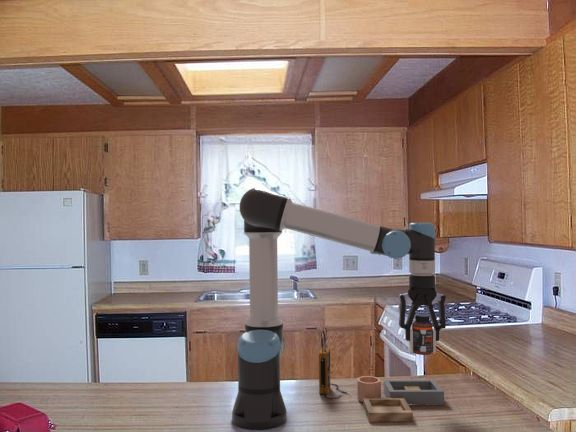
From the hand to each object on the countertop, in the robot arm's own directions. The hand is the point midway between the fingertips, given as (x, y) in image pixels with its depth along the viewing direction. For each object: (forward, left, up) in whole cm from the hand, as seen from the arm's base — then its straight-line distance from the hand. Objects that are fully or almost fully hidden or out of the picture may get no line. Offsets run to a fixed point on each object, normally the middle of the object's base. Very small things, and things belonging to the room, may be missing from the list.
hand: (422, 351), depth 152 cm
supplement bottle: (0, 0, -1) cm, 1 cm away
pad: (-2, +4, -13) cm, 14 cm away
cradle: (-2, +4, -15) cm, 16 cm away
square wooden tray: (-12, -8, -15) cm, 21 cm away
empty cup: (-15, +4, -15) cm, 22 cm away
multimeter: (-25, +11, -16) cm, 31 cm away
